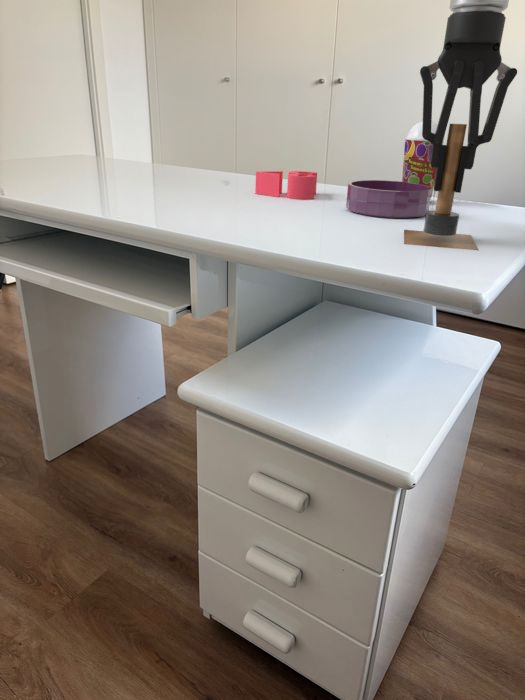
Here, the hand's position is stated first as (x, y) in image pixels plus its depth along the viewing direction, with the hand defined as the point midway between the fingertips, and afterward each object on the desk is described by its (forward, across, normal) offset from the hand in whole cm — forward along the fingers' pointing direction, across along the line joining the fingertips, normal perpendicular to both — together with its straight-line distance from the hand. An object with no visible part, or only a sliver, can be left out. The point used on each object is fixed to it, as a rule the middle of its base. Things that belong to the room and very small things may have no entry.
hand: (446, 190), depth 83 cm
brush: (+7, 0, 0) cm, 7 cm away
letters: (+8, -33, +38) cm, 51 cm away
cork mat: (+8, 0, 0) cm, 8 cm away
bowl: (+8, -9, +23) cm, 26 cm away
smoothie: (+8, -3, +41) cm, 42 cm away
